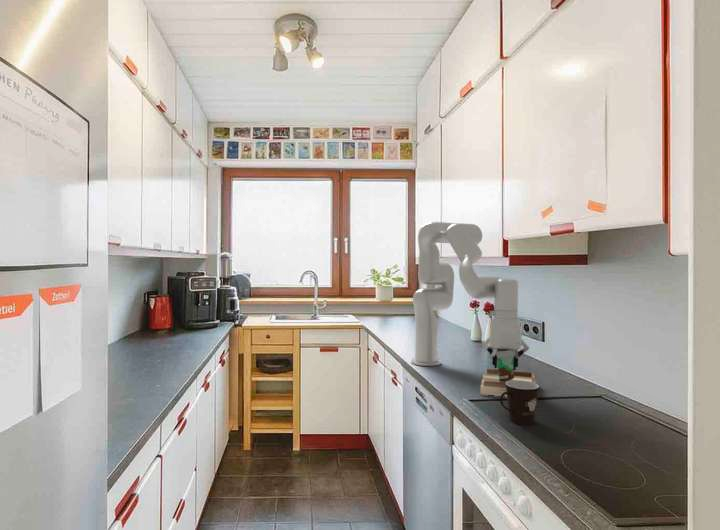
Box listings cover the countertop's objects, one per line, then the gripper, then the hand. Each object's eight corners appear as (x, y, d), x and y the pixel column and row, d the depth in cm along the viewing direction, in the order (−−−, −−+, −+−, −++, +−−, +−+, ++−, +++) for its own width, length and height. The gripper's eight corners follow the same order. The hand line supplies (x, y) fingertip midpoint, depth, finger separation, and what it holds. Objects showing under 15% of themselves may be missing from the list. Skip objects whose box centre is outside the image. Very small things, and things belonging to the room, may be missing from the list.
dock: (484, 380, 165) (484, 368, 165) (534, 385, 159) (534, 372, 159) (480, 394, 148) (480, 381, 148) (536, 400, 142) (536, 386, 142)
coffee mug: (530, 415, 129) (530, 380, 129) (544, 426, 120) (544, 389, 120) (490, 415, 128) (490, 380, 128) (500, 427, 120) (501, 389, 119)
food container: (519, 382, 147) (516, 351, 147) (499, 382, 148) (497, 351, 148) (516, 372, 159) (513, 344, 159) (498, 372, 160) (495, 344, 160)
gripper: (478, 315, 153) (478, 368, 153) (533, 317, 147) (532, 373, 147) (480, 312, 160) (479, 363, 160) (532, 315, 154) (531, 367, 155)
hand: (505, 367), depth 154 cm, fingers closed on food container, 5 cm apart
